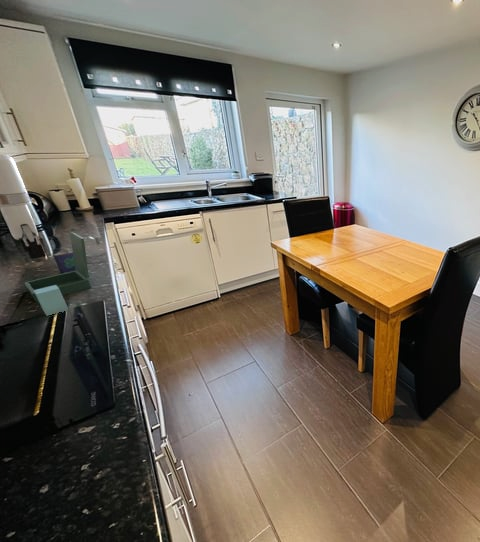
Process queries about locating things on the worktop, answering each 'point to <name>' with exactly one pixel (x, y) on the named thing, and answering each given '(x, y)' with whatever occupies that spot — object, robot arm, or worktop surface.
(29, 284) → the green open tray
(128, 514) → the worktop surface
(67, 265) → the purple box
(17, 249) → the worktop surface
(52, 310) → the pale green block
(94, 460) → the worktop surface
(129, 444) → the worktop surface
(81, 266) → the bin lid
